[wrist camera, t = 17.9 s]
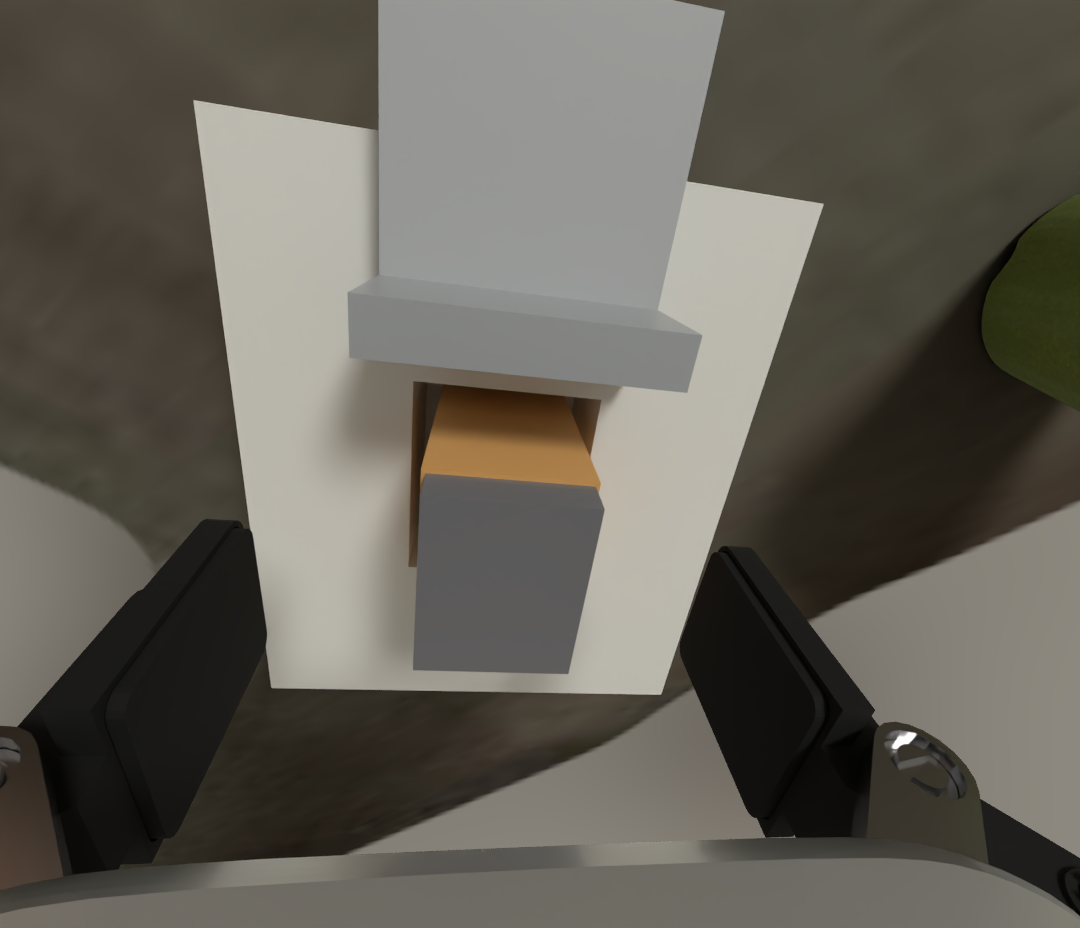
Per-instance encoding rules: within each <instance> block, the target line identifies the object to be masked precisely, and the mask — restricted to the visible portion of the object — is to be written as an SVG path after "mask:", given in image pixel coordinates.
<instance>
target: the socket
mask: <svg viewBox="0 0 1080 928" xmlns="http://www.w3.org/2000/svg"><path fill="white" fill-rule="evenodd" d="M194 108H195V115H196V123H197V130H198V138H199V146H200V153H201V161H202V168H203V176H204V183H205V191H206V198H207V206H208V214H209V221H210V229H211V236H212V244H213V251H214V259H215V266H216V274H217V281H218V289H219V297H220V304H221V312H222V319H223V327H224V334H225V342H226V349H227V357H228V364H229V372H230V380H231V387H232V395H233V402H234V410H235V417H236V425H237V432H238V440H239V448H240V455H241V463H242V470H243V478H244V485H245V493H246V500H247V508H248V515H249V523H250V530H251V531H252V534H253V539H254V546H255V553H256V560H257V567H258V573H259V580H260V587H261V594H262V600H263V607H264V614H265V621H266V628H267V641H266V651H267V659H268V666H269V674H270V682H271V688H298V689H357V690H416V691H475V692H534V693H593V694H652V695H661V693H662V690H663V687H664V684H665V681H666V678H667V675H668V672H669V669H670V666H671V663H672V660H673V657H674V654H675V651H676V648H677V645H678V642H679V639H680V636H681V633H682V630H683V627H684V624H685V621H686V617H687V614H688V611H689V608H690V605H691V602H692V599H693V596H694V593H695V590H696V587H697V584H698V581H699V578H700V575H701V572H702V569H703V566H704V563H705V560H706V557H707V554H708V551H709V548H710V545H711V542H712V539H713V536H714V533H715V530H716V527H717V524H718V521H719V518H720V515H721V512H722V509H723V506H724V503H725V500H726V497H727V494H728V491H729V488H730V485H731V482H732V479H733V476H734V473H735V470H736V467H737V464H738V461H739V458H740V455H741V452H742V449H743V446H744V443H745V440H746V437H747V434H748V431H749V428H750V425H751V422H752V419H753V416H754V412H755V409H756V406H757V403H758V400H759V397H760V394H761V391H762V388H763V385H764V382H765V379H766V376H767V373H768V370H769V367H770V364H771V361H772V358H773V355H774V352H775V349H776V346H777V343H778V340H779V337H780V334H781V331H782V328H783V325H784V322H785V319H786V316H787V313H788V310H789V307H790V304H791V301H792V298H793V295H794V292H795V289H796V286H797V283H798V280H799V277H800V274H801V271H802V268H803V265H804V262H805V259H806V256H807V253H808V250H809V247H810V244H811V241H812V238H813V235H814V232H815V229H816V226H817V223H818V220H819V217H820V214H821V211H822V207H823V204H820V203H814V202H808V201H802V200H796V199H790V198H784V197H778V196H772V195H766V194H760V193H753V192H747V191H741V190H735V189H729V188H723V187H717V186H711V185H705V184H699V183H693V182H686V186H685V191H684V195H683V200H682V204H681V209H680V213H679V218H678V222H677V226H676V231H675V235H674V240H673V244H672V249H671V253H670V258H669V262H668V267H667V271H666V275H665V280H664V284H663V289H662V293H661V298H660V302H659V307H658V310H659V311H660V312H662V313H664V314H666V315H667V316H669V317H671V318H673V319H675V320H676V321H678V322H680V323H682V324H683V325H685V326H687V327H689V328H690V329H692V330H694V331H696V332H697V333H699V334H701V335H702V339H701V343H700V347H699V350H698V354H697V358H696V362H695V365H694V369H693V373H692V377H691V380H690V384H689V388H688V392H687V393H683V392H674V391H664V390H655V389H645V388H635V387H626V386H616V385H606V384H597V383H587V382H577V381H568V380H558V379H549V378H539V377H529V376H520V375H510V374H500V373H491V372H481V371H472V370H462V369H452V368H443V367H433V366H423V365H414V364H404V363H395V362H385V361H375V360H366V359H356V358H349V330H348V295H347V292H349V291H351V290H353V289H354V288H356V287H358V286H360V285H362V284H364V283H365V282H367V281H369V280H371V279H373V278H374V277H376V276H378V275H379V131H377V130H371V129H365V128H359V127H353V126H347V125H341V124H334V123H328V122H322V121H316V120H310V119H304V118H298V117H292V116H286V115H280V114H274V113H268V112H262V111H255V110H249V109H243V108H237V107H231V106H225V105H219V104H213V103H207V102H201V101H195V100H194ZM443 384H448V385H458V386H468V387H478V388H488V389H498V390H508V391H518V392H528V393H538V394H548V395H558V396H565V398H566V401H567V403H568V405H569V408H570V410H571V413H572V415H573V417H574V420H575V422H576V425H577V427H578V429H579V432H580V434H581V437H582V439H583V441H584V444H585V446H586V448H587V451H588V453H589V456H590V458H591V460H592V463H593V465H594V468H595V470H596V472H597V475H598V477H599V480H600V482H601V485H600V490H599V496H600V498H601V501H602V503H603V506H604V509H605V511H604V516H603V520H602V525H601V529H600V534H599V538H598V543H597V547H596V552H595V556H594V561H593V565H592V570H591V574H590V579H589V583H588V588H587V592H586V597H585V601H584V606H583V610H582V615H581V619H580V624H579V628H578V633H577V637H576V642H575V646H574V651H573V655H572V660H571V664H570V669H569V673H568V674H541V673H502V672H463V671H424V670H413V654H414V627H415V603H416V578H417V554H418V529H419V504H420V480H421V467H422V463H423V459H424V455H425V452H426V448H427V444H428V440H429V437H430V433H431V429H432V425H433V422H434V418H435V414H436V410H437V406H438V403H439V399H440V395H441V391H442V388H443Z"/></svg>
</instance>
